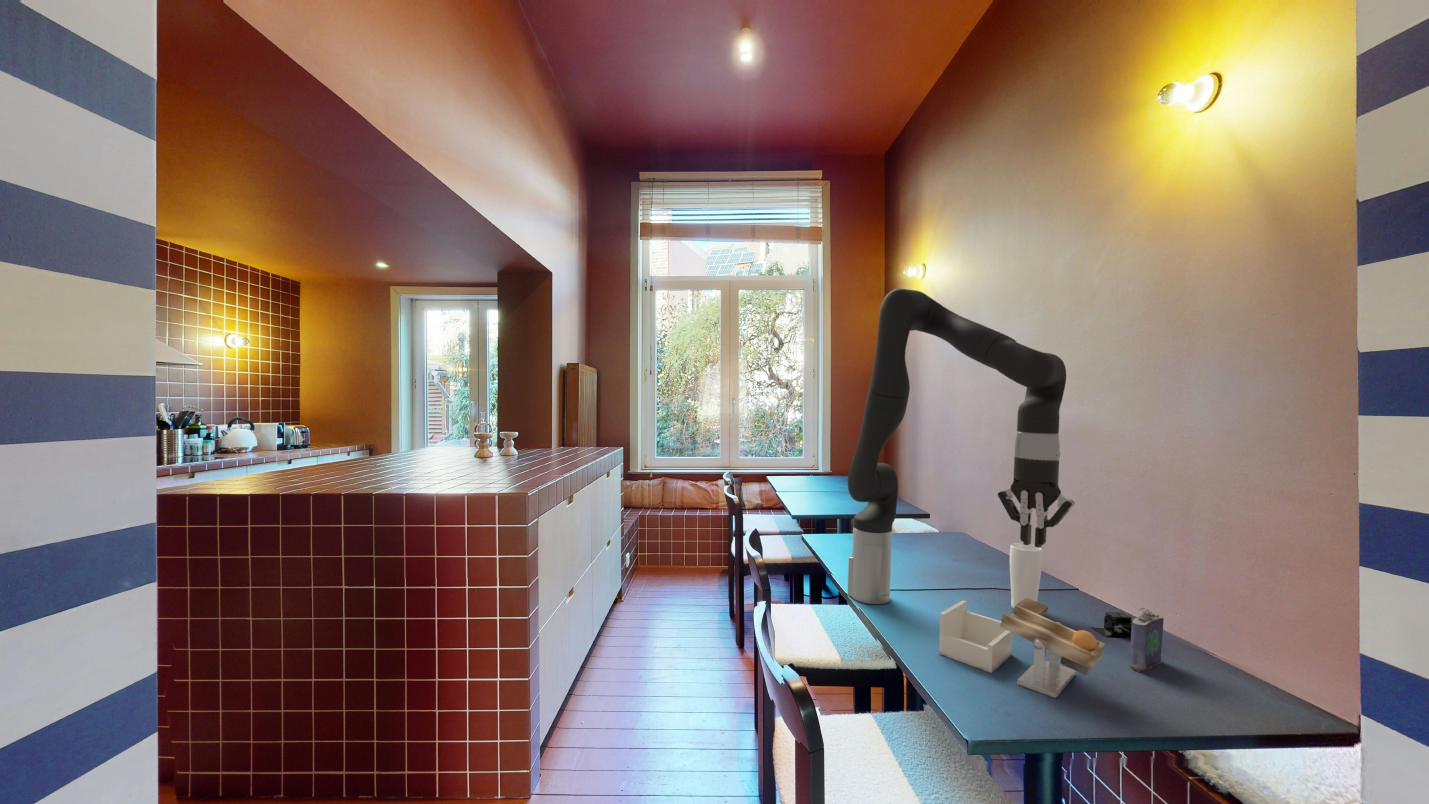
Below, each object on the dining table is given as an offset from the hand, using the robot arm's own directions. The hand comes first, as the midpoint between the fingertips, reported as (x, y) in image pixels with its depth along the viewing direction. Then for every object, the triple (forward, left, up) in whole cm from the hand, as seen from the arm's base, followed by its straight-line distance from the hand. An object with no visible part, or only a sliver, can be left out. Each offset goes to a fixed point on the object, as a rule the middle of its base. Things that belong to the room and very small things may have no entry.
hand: (1032, 545), depth 109 cm
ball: (+11, -6, -13) cm, 18 cm away
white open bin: (-7, -6, -22) cm, 24 cm away
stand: (+5, -6, -22) cm, 24 cm away
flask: (+16, +15, -22) cm, 31 cm away
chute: (+5, -4, -17) cm, 18 cm away
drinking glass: (-9, +27, -22) cm, 36 cm away
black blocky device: (+9, +28, -23) cm, 38 cm away
